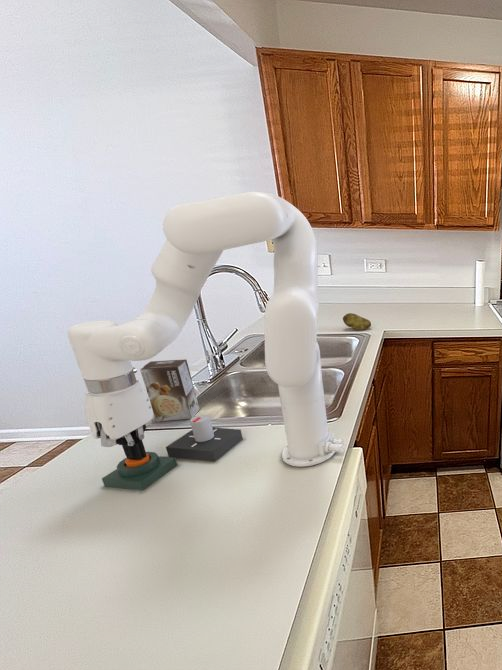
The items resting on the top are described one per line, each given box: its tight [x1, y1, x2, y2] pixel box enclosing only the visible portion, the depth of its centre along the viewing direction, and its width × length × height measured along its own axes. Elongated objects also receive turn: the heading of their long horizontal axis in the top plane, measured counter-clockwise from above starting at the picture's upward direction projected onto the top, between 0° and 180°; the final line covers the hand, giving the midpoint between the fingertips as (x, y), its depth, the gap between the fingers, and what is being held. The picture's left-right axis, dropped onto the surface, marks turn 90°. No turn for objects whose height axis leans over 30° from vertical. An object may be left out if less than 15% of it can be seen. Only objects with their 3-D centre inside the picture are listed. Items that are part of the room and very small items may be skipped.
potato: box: [342, 312, 372, 331], centre depth 198 cm, size 8×13×8 cm, turn 81°
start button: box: [125, 453, 150, 467], centre depth 87 cm, size 4×4×2 cm
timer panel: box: [165, 426, 243, 463], centre depth 99 cm, size 12×10×3 cm
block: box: [101, 451, 178, 491], centre depth 88 cm, size 9×9×4 cm
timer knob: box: [189, 414, 214, 442], centre depth 97 cm, size 4×4×6 cm
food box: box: [139, 358, 200, 423], centre depth 111 cm, size 9×6×16 cm
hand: (137, 457), depth 87 cm, fingers closed
